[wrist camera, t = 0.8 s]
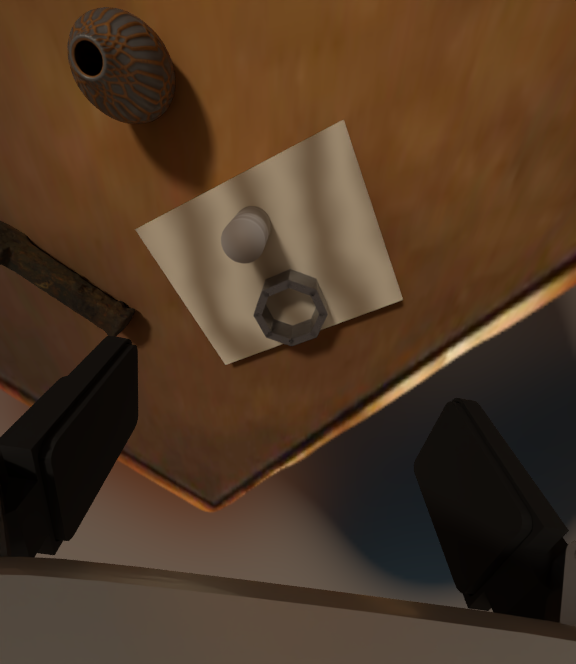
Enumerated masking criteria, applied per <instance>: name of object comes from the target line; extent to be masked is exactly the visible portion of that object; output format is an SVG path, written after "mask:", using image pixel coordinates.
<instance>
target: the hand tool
mask: <svg viewBox="0 0 576 664" xmlns="http://www.w3.org/2000/svg"><path fill="white" fill-rule="evenodd" d="M1 264H2V265H4V266H5V267H7V268H9V269H11V270H13V271H15V272H16V273H18V274H19V275H21V276H23V277H24V278H25V279H27V280H28V281H30V282H31V283H33V284H34V285H36V286H37V287H39V288H40V289H42V290H43V291H45V292H47V293H48V294H49V295H51V296H52V297H54V298H56V299H57V300H58V301H60V302H62V303H63V304H65V305H66V306H68V307H69V308H71V309H72V310H74V311H75V312H77V313H78V314H80V315H81V316H83V317H85V318H86V319H88V320H89V321H91V322H92V323H94V324H95V325H97V327H99V328H101V329H103V330H104V331H105V332H106V333H107V335H108V336H117V335H118V334H119V333H120V332H121V331H122V330H123V329H124V328H125V327H126V326H127V325H128V323H129V322H130V320H131V319H132V318H133V317H132V316H133V314H134V311H135V309H133V308H126V307H125V305H124V303H123V302H122V301H116V300H114V299H112V298H111V297H109V296H108V295H106V294H105V293H104V292H102V291H101V290H99V289H97V288H96V287H94V286H92V285H91V284H89V283H88V282H87V281H85V280H84V279H82V278H81V277H80V275H79V274H77V273H74V272H72V271H71V270H69V269H68V268H67V267H65V266H64V265H62V264H60V263H59V262H57V261H56V260H54V259H53V258H51V257H50V256H49V255H47V254H46V253H44V252H43V251H41V250H40V249H38V248H37V247H35V246H34V245H32V244H31V243H30V241H29V238H28V236H26V235H25V234H23V233H22V232H20V231H19V230H17V229H15V228H13V227H12V226H10V225H8V224H6V223H4V222H2V221H0V265H1Z"/></svg>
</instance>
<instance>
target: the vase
mask: <svg viewBox="0 0 576 664" xmlns="http://www.w3.org/2000/svg"><path fill="white" fill-rule="evenodd" d="M68 60H69V65H70V68H71V71H72V74H73V77H74V79H75V81H76V83H77V85H78V87H79V88H80V90H81V91H82V93H83V94H84V95H85V97H86V98H87V99H88V100H89V101H90V102H91V103H92V104H93V105H94V106H95V107H96V108H98V109H99V110H100V111H101V112H103V113H104V114H106V115H108V116H109V117H111V118H113V119H115V120H118V121H121V122H124V123H130V124H142V123H148V122H151V121H153V120H155V119H157V118H159V117H160V116H161V115H162V114H163V113H164V112H165V111H166V110H167V109H168V107H169V105H170V103H171V101H172V99H173V96H174V91H175V73H174V68H173V64H172V60H171V58H170V55H169V53H168V51H167V49H166V47H165V45H164V44H163V42H162V40H161V39H160V38H159V36H158V35H157V34H156V33H155V32H154V31H153V30H152V29H151V28H150V27H149V26H148V25H147V24H146V23H145V22H143V21H142V20H141V19H139V18H138V17H136V16H135V15H133V14H131V13H129V12H127V11H124V10H121V9H117V8H109V7H104V8H97V9H93V10H90V11H88V12H86V13H85V14H83V15H82V16H81V17H80V18H79V19H78V20H77V21H76V22H75V24H74V25H73V27H72V29H71V32H70V35H69V39H68Z"/></svg>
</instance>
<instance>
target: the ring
mask: <svg viewBox="0 0 576 664" xmlns="http://www.w3.org/2000/svg"><path fill="white" fill-rule="evenodd" d="M288 288H290V289H293V290H296V291H299V292H301V293H304V294H307V295H310V296H311V298H312V300H313V302H314V304H315V307H316V308H315V310H314V313H313V315H312V317H311V319H308V320H306V321H303V322H301V323H298V324H295V325H290V324H287V323H284V322H281V321H278V320H275V319H274V318H273V316H272V315H271V313H270V311H269V309H268V307H267V305H266V302H267V299H268V297H269V296H271V295H273V294H276V293H278V292H281V291H283V290H286V289H288ZM327 315H328V311H327V301H326V299H325V297H324V295H323V293H322V290H321V288H320V286H319V284H318V281H317V279H316V278H314V277H311V276H308V275H305V274H303V273H300V272H297V271H295V270H292V269H289V270H286V271H284V272H282V273H279V274H277V275H275V276H272V277H270V278H268V279H265V282H264V285H263V287H262V290H261V293H260V296H259V299H258V302H257V305H256V308H255V311H254V315H253V316H254V317H255V319H256V321H257V323H258V324H259V326H260V328H261V330H262V331H263V333H264V335H265V337H266V338H269V339H272V340H275V341H278V342H281V343H283V344H286V345H289V346H294V345H297V344H299V343H302V342H305V341H308V340H310V339H313V338H316V337H317V336H318V334H319V332H320V329H321V327H322V325H323V323H324V321H325V319H326V317H327Z"/></svg>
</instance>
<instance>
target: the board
mask: <svg viewBox="0 0 576 664" xmlns="http://www.w3.org/2000/svg"><path fill="white" fill-rule="evenodd" d="M136 231H137V233H138V234H139V236H140V237H141V239H142V240H143V242H144V243H145V245H146V246H147V248H148V249H149V251H150V252H151V254H152V255H153V257H154V258H155V260H156V261H157V263H158V264H159V266H160V267H161V269H162V270H163V272H164V273H165V275H166V276H167V278H168V279H169V281H170V282H171V284H172V285H173V287H174V288H175V290H176V291H177V293H178V294H179V296H180V297H181V299H182V300H183V302H184V303H185V305H186V306H187V308H188V309H189V311H190V312H191V314H192V315H193V317H194V318H195V320H196V321H197V323H198V324H199V326H200V327H201V329H202V330H203V332H204V333H205V335H206V336H207V338H208V339H209V341H210V342H211V344H212V345H213V347H214V348H215V350H216V351H217V353H218V354H219V356H220V357H221V359H222V360H223V362H224V363H225V365H227V364H230V363H232V362H235V361H238V360H241V359H243V358H246V357H249V356H251V355H254V354H257V353H260V352H262V351H265V350H268V349H271V348H273V347H276V346H279V345H281V344H283V343H281V342H278V341H275V340H272V339H269V338H266V337H265V335H264V333H263V331H262V330H261V328H260V326H259V324H258V323H257V321H256V319H255V317H254V316H253V315H254V311H255V308H256V305H257V302H258V299H259V296H260V293H261V290H262V287H263V285H264V282H265V279H268V278H270V277H272V276H275V275H277V274H279V273H282V272H284V271H286V270H289V269H292V270H295V271H297V272H300V273H303V274H305V275H308V276H311V277H314V278H316V279H317V281H318V284H319V286H320V288H321V290H322V293H323V295H324V297H325V299H326V301H327V311H328V315H327V317H326V319H325V321H324V323H323V325H322V327H321V329H320V330H322V329H325V328H328V327H330V326H333V325H336V324H339V323H341V322H344V321H347V320H349V319H352V318H355V317H358V316H360V315H363V314H366V313H368V312H371V311H374V310H377V309H379V308H382V307H385V306H387V305H390V304H393V303H396V302H398V301H401V300H403V298H402V295H401V292H400V289H399V286H398V283H397V280H396V277H395V274H394V271H393V268H392V265H391V262H390V259H389V256H388V253H387V250H386V247H385V244H384V241H383V238H382V235H381V232H380V229H379V226H378V223H377V220H376V217H375V213H374V210H373V207H372V204H371V201H370V198H369V195H368V192H367V189H366V186H365V183H364V180H363V177H362V174H361V171H360V168H359V165H358V162H357V159H356V156H355V153H354V150H353V147H352V144H351V141H350V138H349V135H348V132H347V128H346V125H345V122H344V120H342V121H340V122H338V123H336V124H334V125H332V126H331V127H329V128H327V129H325V130H323V131H321V132H319V133H317V134H315V135H313V136H312V137H310V138H308V139H306V140H304V141H302V142H300V143H298V144H296V145H294V146H293V147H291V148H289V149H287V150H285V151H283V152H281V153H279V154H277V155H276V156H274V157H272V158H270V159H268V160H266V161H264V162H262V163H260V164H258V165H257V166H255V167H253V168H251V169H249V170H247V171H245V172H243V173H241V174H239V175H238V176H236V177H234V178H232V179H230V180H228V181H226V182H224V183H222V184H220V185H219V186H217V187H215V188H213V189H211V190H209V191H207V192H205V193H203V194H202V195H200V196H198V197H196V198H194V199H192V200H190V201H188V202H186V203H184V204H183V205H181V206H179V207H177V208H175V209H173V210H171V211H169V212H167V213H165V214H164V215H162V216H160V217H158V218H156V219H154V220H152V221H150V222H148V223H146V224H145V225H143V226H141V227H139V228H137V229H136ZM266 305H267V307H268V309H269V311H270V313H271V315H272V316H273V318H274V319H275V320H278V321H281V322H284V323H287V324H290V325H295V324H298V323H301V322H303V321H306V320H308V319H311V317H312V315H313V313H314V310H315V308H316V307H315V304H314V302H313V300H312V298H311V296H310V295H307V294H304V293H301V292H299V291H296V290H293V289H290V288H288V289H286V290H283V291H281V292H278V293H276V294H273V295H271V296H269V297H268V299H267V302H266Z"/></svg>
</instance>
